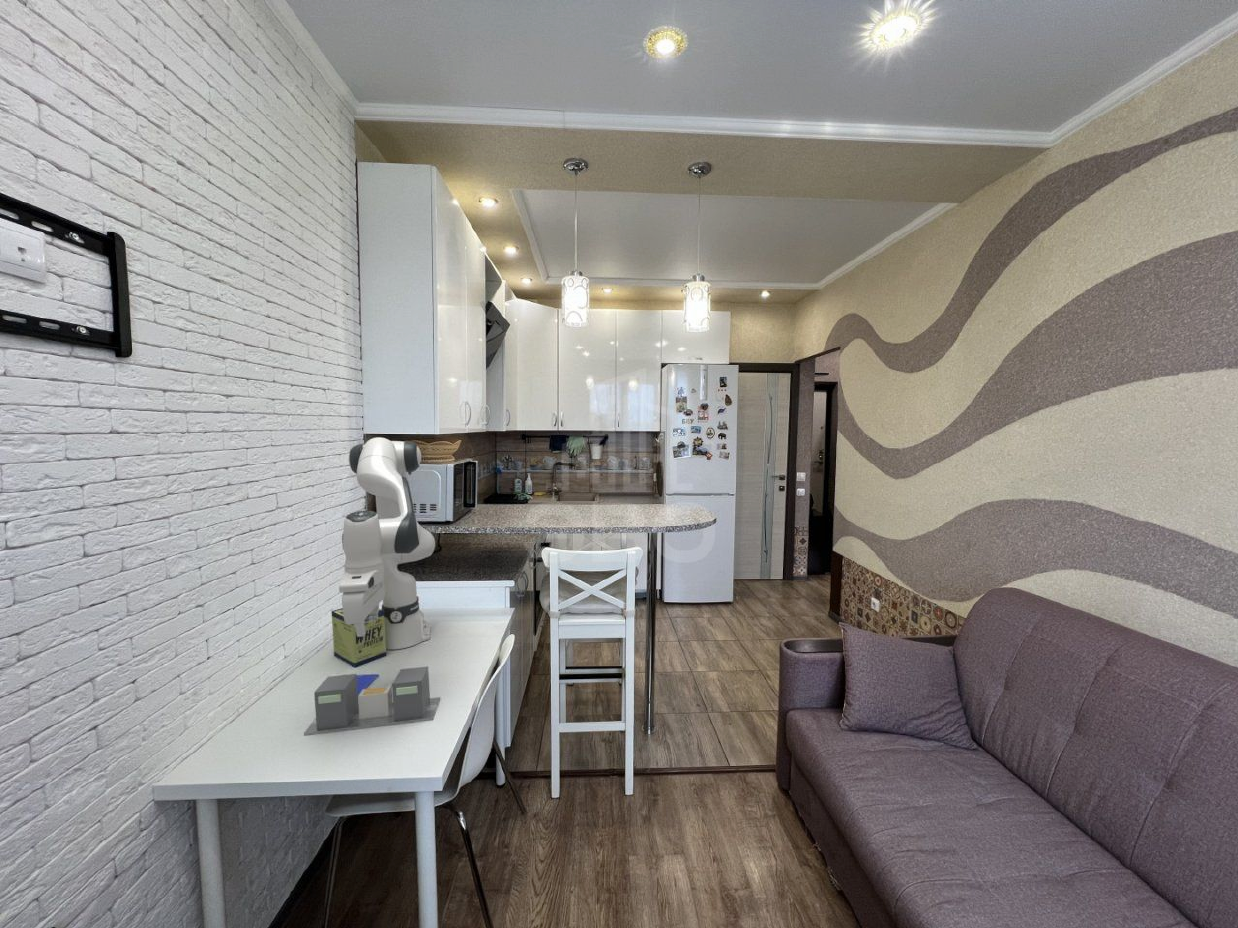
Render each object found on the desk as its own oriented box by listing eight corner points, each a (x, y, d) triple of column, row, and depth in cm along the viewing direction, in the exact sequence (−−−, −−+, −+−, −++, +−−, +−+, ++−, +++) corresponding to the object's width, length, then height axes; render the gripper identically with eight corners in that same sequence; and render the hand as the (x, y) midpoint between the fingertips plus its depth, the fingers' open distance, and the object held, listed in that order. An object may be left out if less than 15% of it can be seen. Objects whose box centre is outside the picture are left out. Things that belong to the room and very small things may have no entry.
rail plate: (321, 712, 129) (321, 710, 129) (440, 699, 134) (440, 697, 134) (303, 735, 120) (303, 732, 120) (432, 719, 124) (432, 717, 124)
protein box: (355, 668, 155) (352, 619, 154) (333, 656, 164) (330, 610, 163) (387, 655, 163) (384, 609, 162) (364, 644, 172) (362, 601, 172)
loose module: (364, 711, 128) (362, 688, 128) (392, 708, 129) (391, 685, 129) (359, 719, 125) (358, 695, 124) (388, 715, 126) (387, 692, 126)
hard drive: (352, 674, 148) (327, 696, 136) (379, 673, 148) (357, 695, 136) (352, 679, 148) (328, 701, 136) (379, 678, 148) (357, 700, 136)
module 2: (402, 705, 132) (400, 669, 131) (430, 702, 133) (428, 666, 132) (393, 723, 123) (391, 684, 123) (422, 719, 125) (420, 681, 124)
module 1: (330, 713, 129) (327, 676, 128) (358, 710, 130) (356, 673, 129) (316, 732, 120) (313, 693, 120) (346, 729, 122) (344, 689, 121)
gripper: (365, 565, 135) (368, 614, 136) (335, 588, 115) (339, 645, 116) (389, 563, 136) (392, 612, 137) (364, 586, 116) (368, 643, 117)
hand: (367, 628), depth 126 cm, fingers open, 8 cm apart
